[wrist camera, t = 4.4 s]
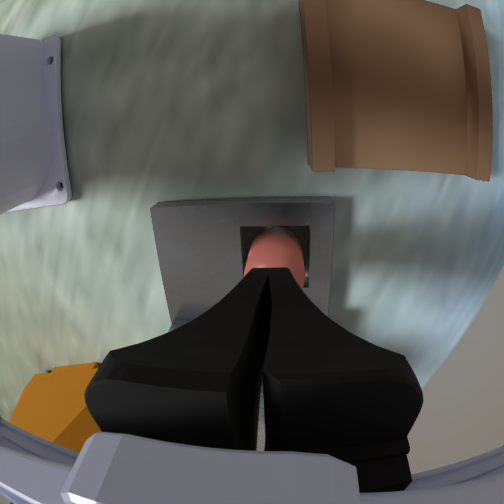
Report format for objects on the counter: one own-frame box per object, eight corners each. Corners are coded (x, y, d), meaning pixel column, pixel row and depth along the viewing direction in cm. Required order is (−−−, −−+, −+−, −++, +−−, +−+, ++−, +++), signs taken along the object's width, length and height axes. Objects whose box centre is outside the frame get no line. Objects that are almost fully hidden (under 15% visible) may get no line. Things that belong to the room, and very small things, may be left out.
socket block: (158, 202, 14) (139, 216, 12) (330, 196, 13) (339, 210, 11) (197, 397, 20) (190, 421, 18) (315, 401, 19) (316, 427, 17)
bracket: (85, 421, 24) (38, 513, 13) (40, 368, 21) (-27, 462, 10) (172, 422, 22) (130, 551, 11) (121, 358, 19) (42, 502, 8)
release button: (248, 227, 14) (241, 248, 12) (302, 226, 14) (305, 248, 12) (251, 274, 15) (245, 302, 13) (301, 274, 15) (304, 302, 13)
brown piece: (298, -5, 10) (300, -26, 8) (457, 19, 9) (480, 9, 7) (308, 163, 13) (312, 171, 11) (465, 172, 12) (489, 181, 10)
